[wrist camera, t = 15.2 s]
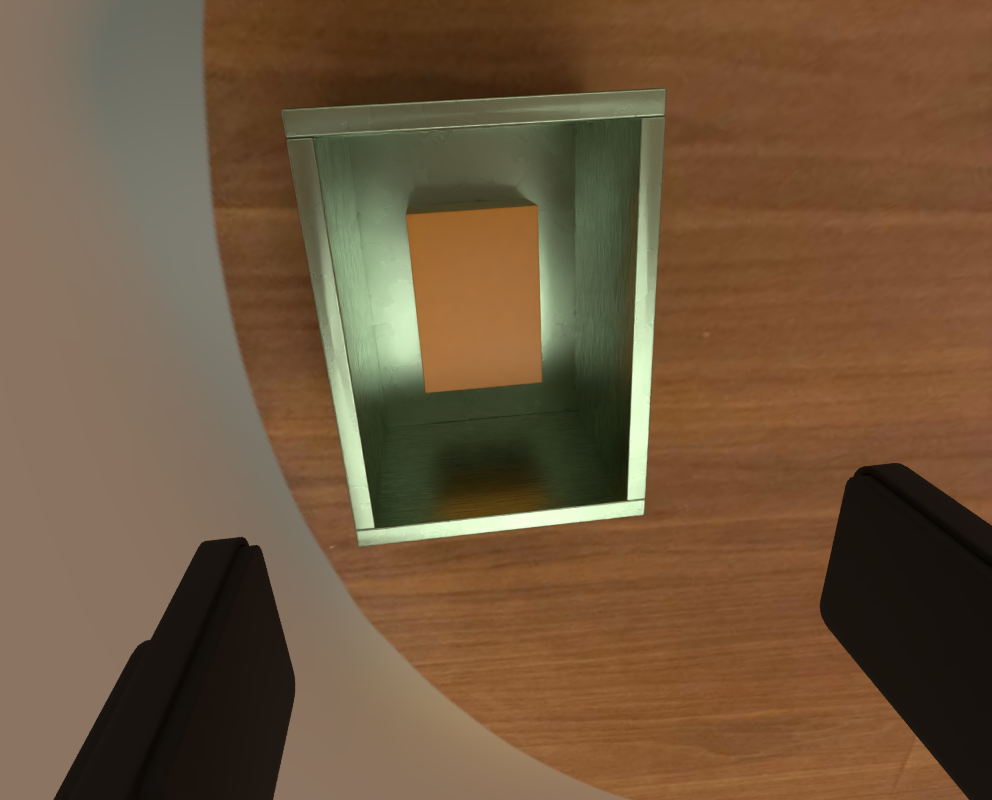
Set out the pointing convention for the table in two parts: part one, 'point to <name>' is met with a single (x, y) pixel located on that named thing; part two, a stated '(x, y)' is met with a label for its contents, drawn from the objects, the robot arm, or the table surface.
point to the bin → (563, 300)
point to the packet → (477, 293)
